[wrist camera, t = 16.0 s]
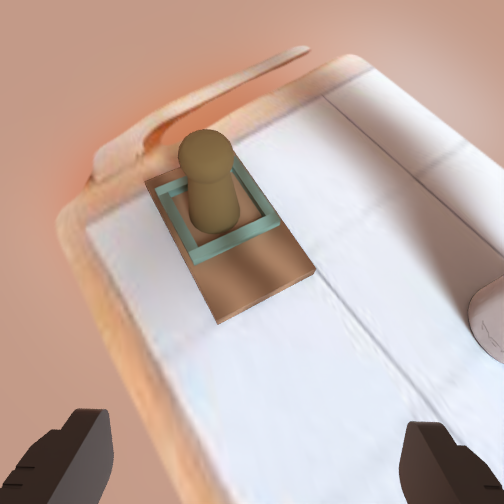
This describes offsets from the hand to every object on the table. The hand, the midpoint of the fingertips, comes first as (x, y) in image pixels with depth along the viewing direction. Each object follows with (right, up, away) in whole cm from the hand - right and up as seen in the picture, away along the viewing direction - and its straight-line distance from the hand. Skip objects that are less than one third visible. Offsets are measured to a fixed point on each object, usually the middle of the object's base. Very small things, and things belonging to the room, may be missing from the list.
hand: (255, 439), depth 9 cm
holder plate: (-3, +8, +32) cm, 33 cm away
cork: (-4, +10, +32) cm, 33 cm away
